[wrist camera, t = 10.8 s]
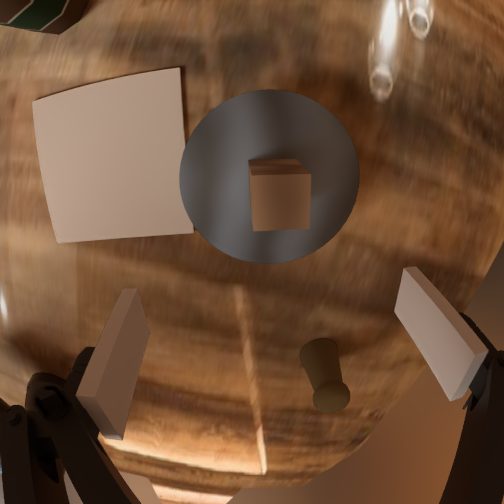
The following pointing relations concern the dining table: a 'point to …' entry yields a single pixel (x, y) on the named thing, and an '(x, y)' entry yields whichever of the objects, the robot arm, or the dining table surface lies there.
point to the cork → (325, 375)
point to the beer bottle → (41, 14)
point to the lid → (269, 176)
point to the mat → (114, 157)
